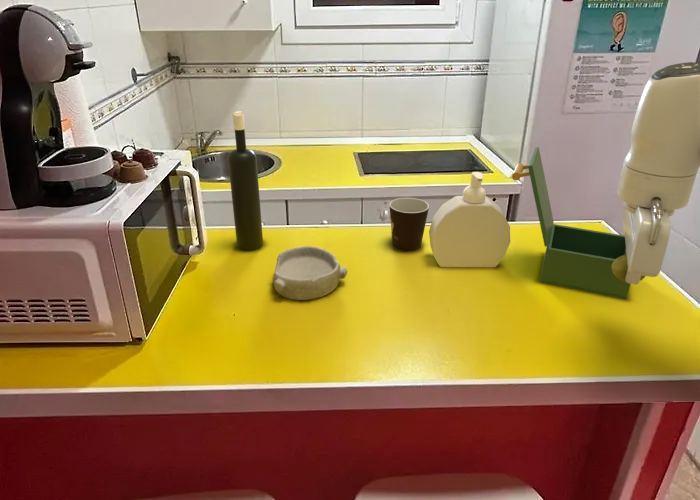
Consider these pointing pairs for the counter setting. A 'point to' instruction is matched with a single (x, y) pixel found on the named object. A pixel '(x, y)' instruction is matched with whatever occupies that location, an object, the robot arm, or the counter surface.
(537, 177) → the lid
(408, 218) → the coffee mug
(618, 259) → the lime
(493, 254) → the soap bottle
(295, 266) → the dish
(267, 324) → the counter surface
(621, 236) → the green box
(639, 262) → the robot arm
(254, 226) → the wine bottle
